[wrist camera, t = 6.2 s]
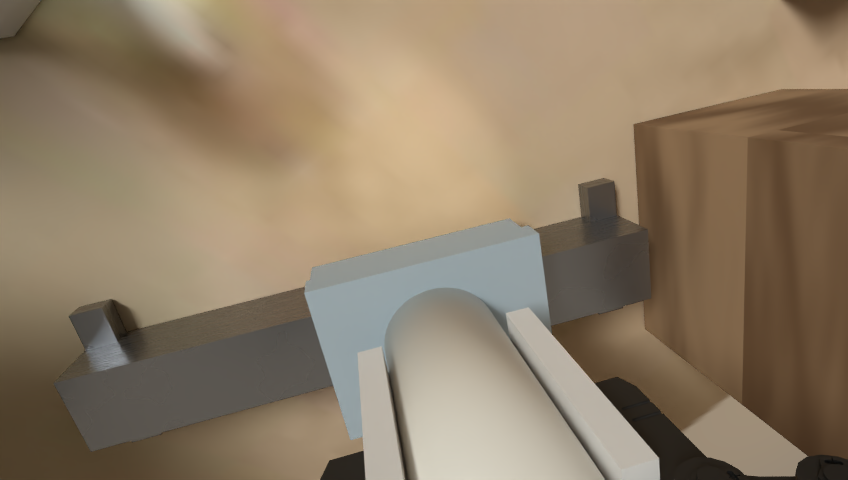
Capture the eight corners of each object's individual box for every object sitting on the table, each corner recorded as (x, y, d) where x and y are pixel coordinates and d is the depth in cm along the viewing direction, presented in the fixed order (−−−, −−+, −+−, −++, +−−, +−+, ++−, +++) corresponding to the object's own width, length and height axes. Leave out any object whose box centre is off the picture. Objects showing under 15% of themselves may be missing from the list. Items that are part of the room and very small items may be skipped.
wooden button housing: (645, 328, 23) (849, 489, 14) (633, 124, 20) (890, 153, 11) (773, 292, 24) (1050, 422, 15) (781, 89, 21) (1145, 88, 11)
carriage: (348, 389, 20) (362, 858, 8) (310, 260, 18) (245, 614, 6) (527, 340, 21) (795, 697, 9) (508, 211, 19) (818, 435, 7)
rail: (140, 429, 21) (107, 483, 18) (79, 306, 19) (33, 345, 16) (614, 300, 23) (652, 330, 20) (604, 178, 21) (645, 191, 18)
